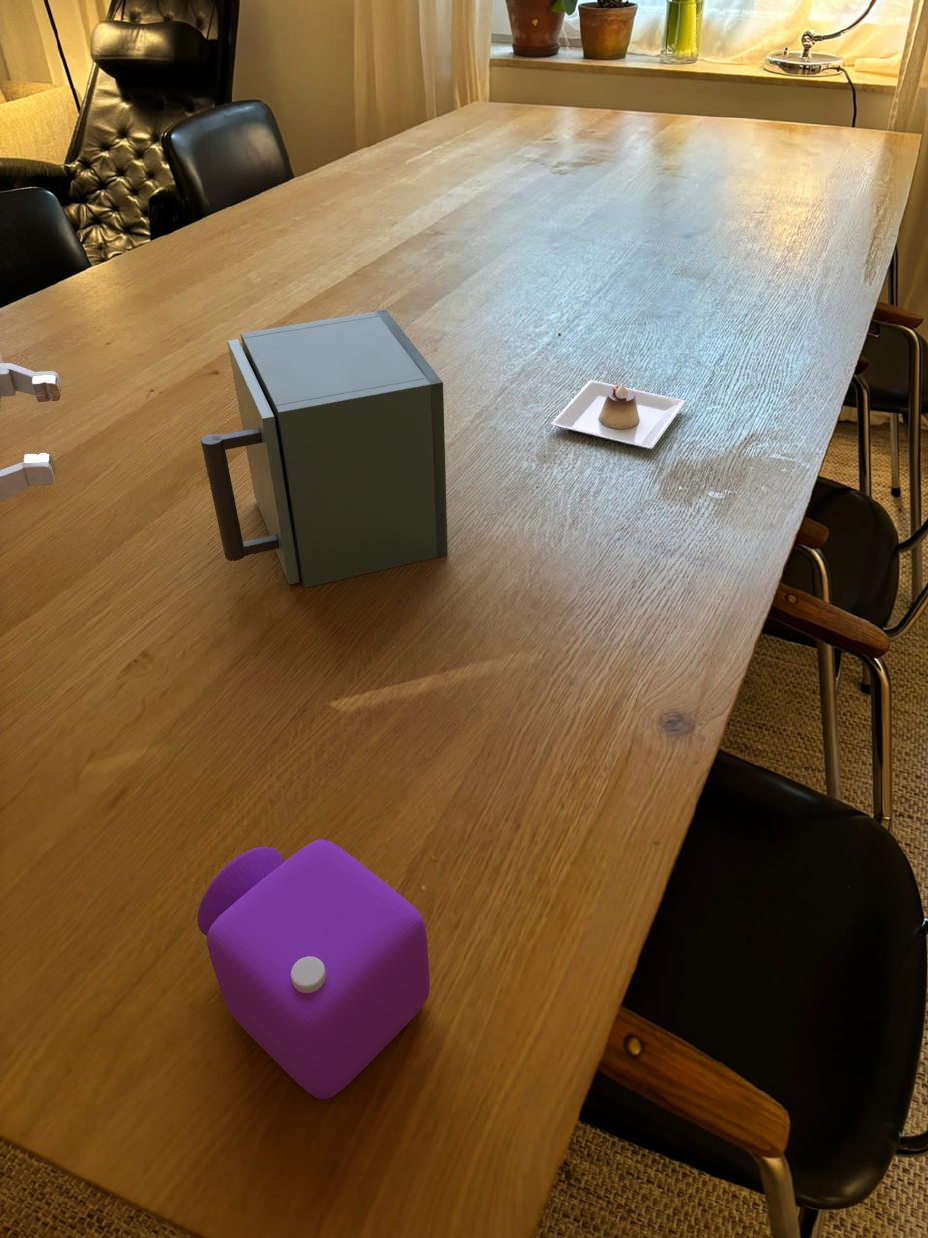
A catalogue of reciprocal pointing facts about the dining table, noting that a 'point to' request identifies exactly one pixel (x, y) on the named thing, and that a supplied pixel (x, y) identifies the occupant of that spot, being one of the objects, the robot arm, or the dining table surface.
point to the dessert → (619, 414)
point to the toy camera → (315, 959)
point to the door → (263, 470)
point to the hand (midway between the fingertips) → (56, 425)
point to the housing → (355, 443)
